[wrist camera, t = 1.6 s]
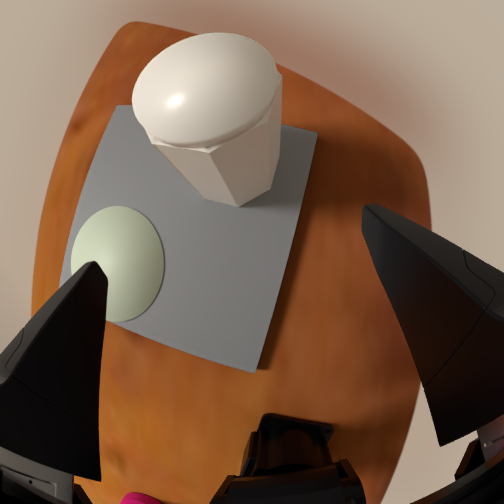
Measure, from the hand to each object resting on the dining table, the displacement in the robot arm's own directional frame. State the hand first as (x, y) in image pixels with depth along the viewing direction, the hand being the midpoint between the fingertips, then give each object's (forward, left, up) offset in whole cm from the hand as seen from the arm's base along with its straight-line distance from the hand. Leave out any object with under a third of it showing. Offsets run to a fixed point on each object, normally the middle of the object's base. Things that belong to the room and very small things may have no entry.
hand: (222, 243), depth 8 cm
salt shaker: (+3, -7, -12) cm, 15 cm away
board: (+7, -2, -13) cm, 15 cm away
